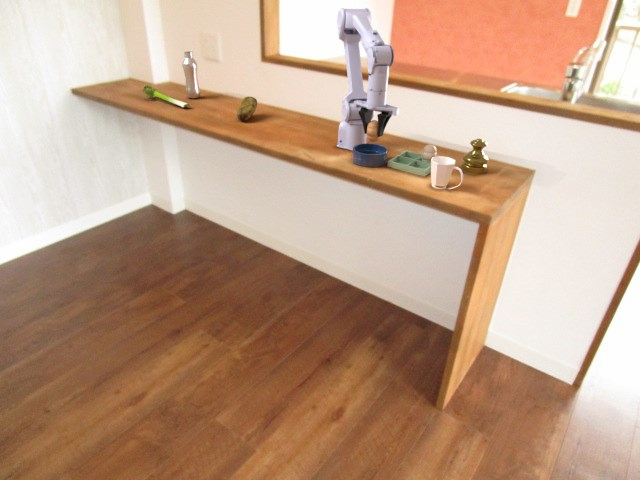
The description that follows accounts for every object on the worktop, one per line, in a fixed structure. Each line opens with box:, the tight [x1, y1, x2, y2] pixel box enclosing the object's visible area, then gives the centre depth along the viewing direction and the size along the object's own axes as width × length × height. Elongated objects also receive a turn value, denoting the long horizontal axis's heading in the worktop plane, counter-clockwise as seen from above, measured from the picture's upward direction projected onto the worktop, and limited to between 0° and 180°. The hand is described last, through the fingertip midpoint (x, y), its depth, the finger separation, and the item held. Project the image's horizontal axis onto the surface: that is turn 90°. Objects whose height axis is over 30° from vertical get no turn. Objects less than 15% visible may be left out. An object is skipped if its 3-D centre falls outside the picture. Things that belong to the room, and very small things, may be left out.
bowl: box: [351, 142, 389, 168], centre depth 146 cm, size 11×11×4 cm
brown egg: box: [367, 119, 380, 143], centre depth 142 cm, size 4×4×7 cm
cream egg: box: [421, 143, 438, 163], centre depth 144 cm, size 4×4×7 cm
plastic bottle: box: [181, 51, 201, 99], centre depth 208 cm, size 6×7×20 cm
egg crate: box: [386, 149, 431, 177], centre depth 144 cm, size 13×13×2 cm
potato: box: [236, 96, 258, 122], centre depth 184 cm, size 8×13×8 cm, turn 151°
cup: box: [430, 155, 464, 191], centre depth 129 cm, size 7×10×8 cm
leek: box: [142, 84, 191, 109], centre depth 204 cm, size 6×7×30 cm
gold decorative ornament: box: [460, 138, 489, 175], centre depth 141 cm, size 7×7×10 cm
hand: (373, 134), depth 142 cm, fingers closed on brown egg, 4 cm apart
